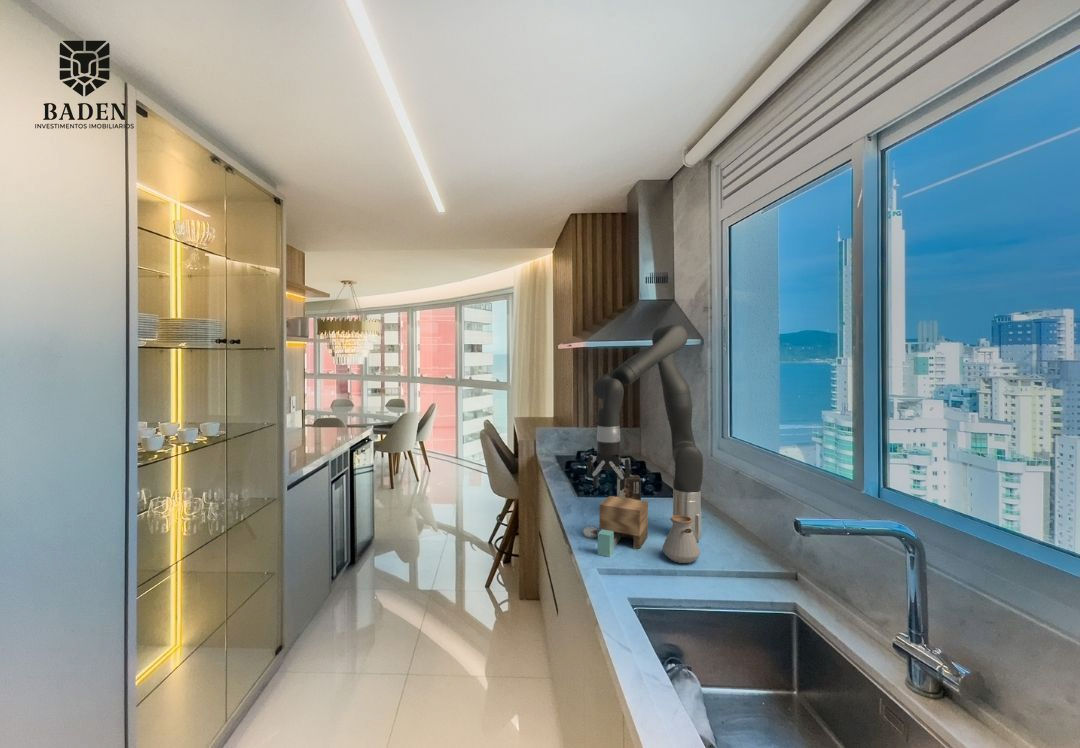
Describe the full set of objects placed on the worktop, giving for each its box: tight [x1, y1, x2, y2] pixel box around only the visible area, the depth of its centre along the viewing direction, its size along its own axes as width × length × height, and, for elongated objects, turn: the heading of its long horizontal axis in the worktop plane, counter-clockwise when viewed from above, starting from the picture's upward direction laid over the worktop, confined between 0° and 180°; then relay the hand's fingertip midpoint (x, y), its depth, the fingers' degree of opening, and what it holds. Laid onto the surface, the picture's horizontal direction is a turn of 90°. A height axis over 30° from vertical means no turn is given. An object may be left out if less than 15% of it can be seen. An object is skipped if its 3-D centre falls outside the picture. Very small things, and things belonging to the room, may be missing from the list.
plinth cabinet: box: [598, 495, 649, 550], centre depth 158 cm, size 14×11×13 cm
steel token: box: [583, 526, 599, 539], centre depth 162 cm, size 5×5×2 cm
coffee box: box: [616, 474, 642, 501], centre depth 181 cm, size 9×6×16 cm
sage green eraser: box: [597, 529, 622, 558], centre depth 152 cm, size 4×16×7 cm, turn 153°
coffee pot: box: [662, 515, 701, 564], centre depth 138 cm, size 21×12×15 cm, turn 171°
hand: (609, 488), depth 149 cm, fingers open, 8 cm apart
